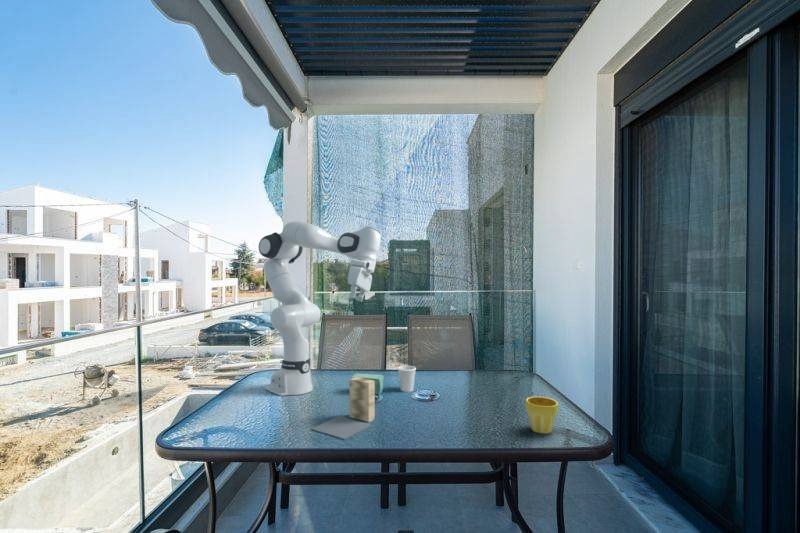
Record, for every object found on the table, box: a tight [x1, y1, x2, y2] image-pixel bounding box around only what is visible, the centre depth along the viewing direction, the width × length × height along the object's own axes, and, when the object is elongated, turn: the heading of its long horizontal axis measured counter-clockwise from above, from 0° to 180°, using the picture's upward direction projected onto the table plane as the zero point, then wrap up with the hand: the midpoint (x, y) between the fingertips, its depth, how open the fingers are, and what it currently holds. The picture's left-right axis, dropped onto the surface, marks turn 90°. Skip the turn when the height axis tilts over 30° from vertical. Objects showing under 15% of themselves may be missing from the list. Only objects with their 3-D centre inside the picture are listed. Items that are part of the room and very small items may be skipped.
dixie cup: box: [397, 365, 417, 393], centre depth 185 cm, size 8×8×10 cm
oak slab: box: [348, 377, 376, 423], centre depth 151 cm, size 9×4×14 cm, turn 56°
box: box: [350, 372, 385, 396], centre depth 183 cm, size 7×14×8 cm, turn 79°
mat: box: [311, 415, 372, 441], centre depth 142 cm, size 15×14×1 cm
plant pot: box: [525, 396, 559, 435], centre depth 139 cm, size 10×10×10 cm
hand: (356, 299), depth 164 cm, fingers open, 8 cm apart
